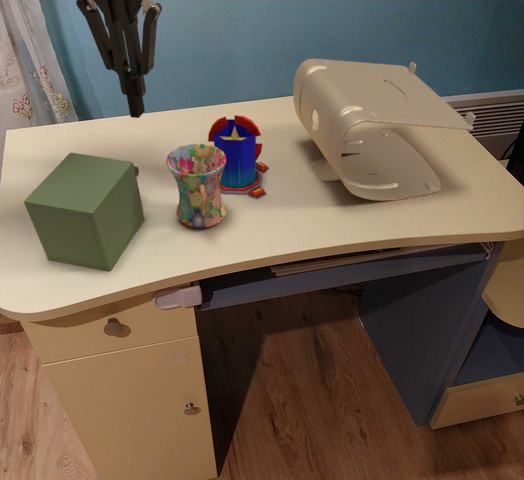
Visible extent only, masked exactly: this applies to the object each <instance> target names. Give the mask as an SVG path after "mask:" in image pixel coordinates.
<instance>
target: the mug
mask: <svg viewBox="0 0 524 480" xmlns="http://www.w3.org/2000/svg"><path fill="white" fill-rule="evenodd" d="M165 162H166V163H165V164H166V166H167V168H168V170H169V171H170V173H171V174H172V176H173V178H174V180H175V183H176V187H177V190H178V195H179V196H178V197H179V198H178V199H179V200H178V204H177V205H178V206H177V208H176V211H175V212H176V216H177V218H178V221H180V222H181V223H183V224H184V225H186V226H188V227H192V228H208V227H213V226H215V225H218V224H219V223H221V222H222V221H223V220H224V219H225V217H226V215H227V206H226V204H225V203H224V201H223V199H222V196H221V194H220V193H221V192H220V179H221V174H222V171H223V168H224V166H225V164H226V156H225V154H224V152H223V151H222V150H220V149H219V148H217V147H215V146H214V145H212V144H208V143H189V144H184V145H181V146H178V147H176V148H174V149H173V150H171V151H170V152H169V153H168V155H167V157H166V161H165Z"/></svg>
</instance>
